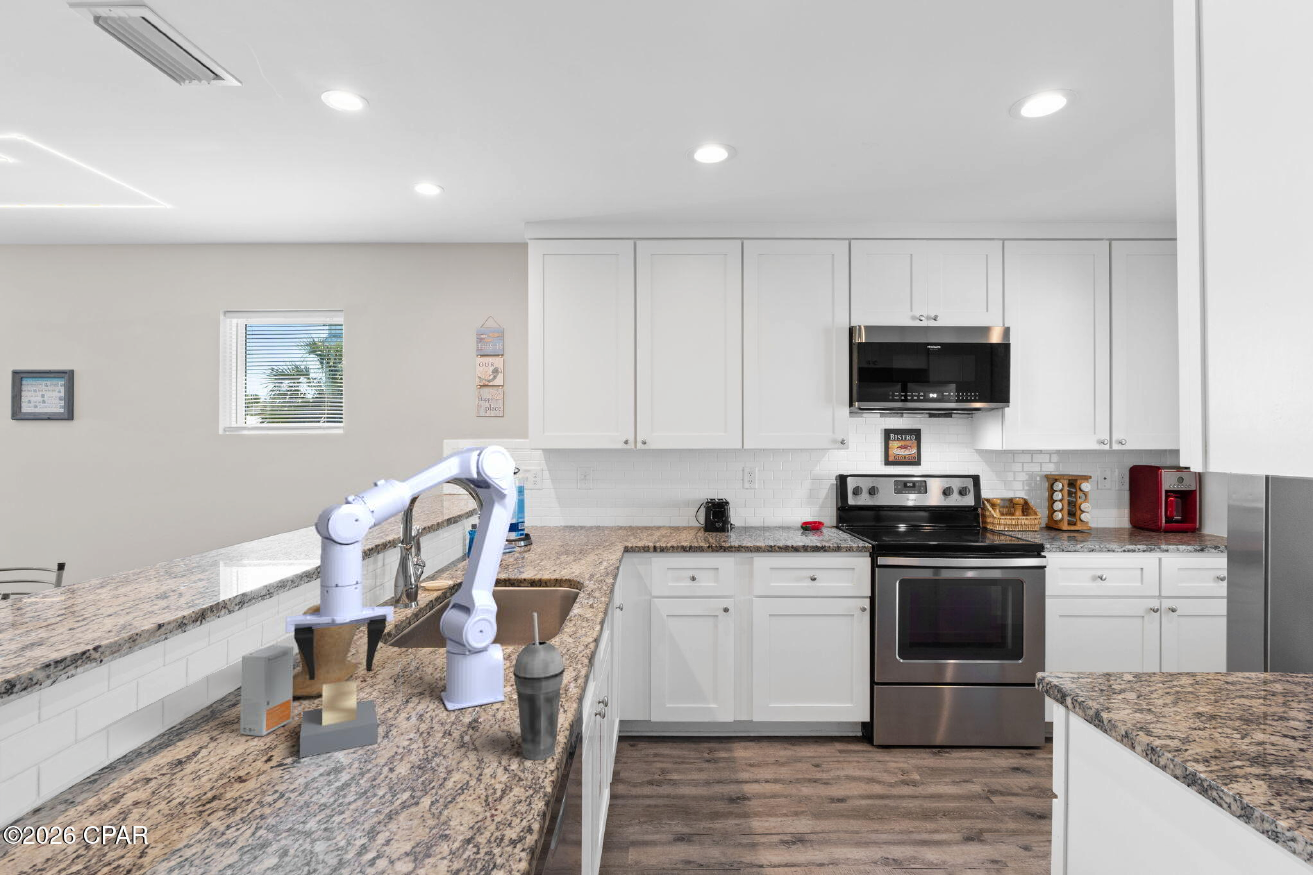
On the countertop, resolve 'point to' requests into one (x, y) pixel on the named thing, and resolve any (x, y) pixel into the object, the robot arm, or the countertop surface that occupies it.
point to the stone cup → (326, 658)
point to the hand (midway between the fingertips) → (341, 673)
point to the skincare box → (266, 690)
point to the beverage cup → (538, 696)
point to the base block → (338, 731)
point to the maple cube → (339, 702)
